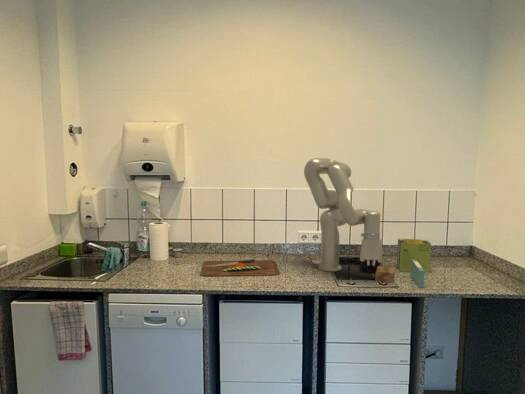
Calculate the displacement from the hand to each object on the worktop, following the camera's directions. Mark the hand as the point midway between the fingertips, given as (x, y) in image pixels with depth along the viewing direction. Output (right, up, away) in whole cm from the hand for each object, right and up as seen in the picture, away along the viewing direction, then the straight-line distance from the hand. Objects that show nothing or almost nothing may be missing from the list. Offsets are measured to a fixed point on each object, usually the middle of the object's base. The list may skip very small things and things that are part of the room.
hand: (370, 272), depth 196 cm
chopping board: (-65, -1, +15) cm, 67 cm away
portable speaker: (+6, -1, +21) cm, 22 cm away
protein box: (+27, -2, +17) cm, 32 cm away
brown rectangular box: (+7, -3, -1) cm, 8 cm away
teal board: (+22, -3, -3) cm, 22 cm away
